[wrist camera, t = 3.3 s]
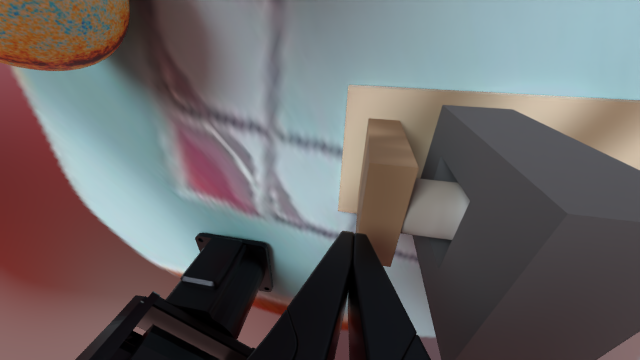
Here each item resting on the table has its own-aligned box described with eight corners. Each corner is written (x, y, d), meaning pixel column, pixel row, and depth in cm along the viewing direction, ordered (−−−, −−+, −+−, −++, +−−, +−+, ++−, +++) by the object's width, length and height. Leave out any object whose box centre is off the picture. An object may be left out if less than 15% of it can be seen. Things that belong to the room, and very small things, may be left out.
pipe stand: (911, 115, 9) (1572, 207, 4) (718, 253, 13) (927, 380, 8) (349, 84, 12) (336, 116, 7) (338, 205, 16) (326, 278, 11)
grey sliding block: (512, 109, 10) (780, 238, 4) (459, 224, 14) (543, 394, 7) (442, 104, 11) (567, 213, 4) (408, 218, 14) (444, 373, 8)
